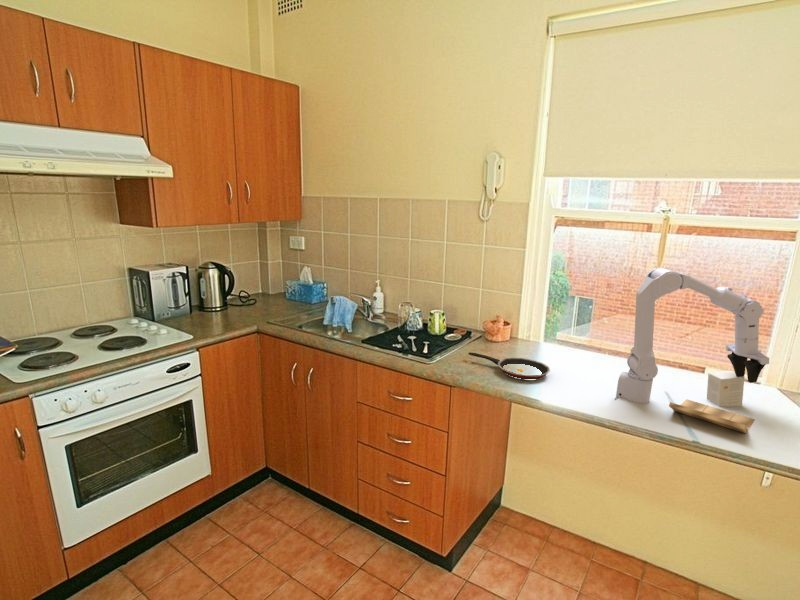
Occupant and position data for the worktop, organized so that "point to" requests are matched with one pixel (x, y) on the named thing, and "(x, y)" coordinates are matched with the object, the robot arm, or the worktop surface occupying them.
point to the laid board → (719, 413)
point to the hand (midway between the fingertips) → (746, 379)
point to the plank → (709, 417)
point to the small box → (725, 388)
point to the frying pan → (501, 363)
